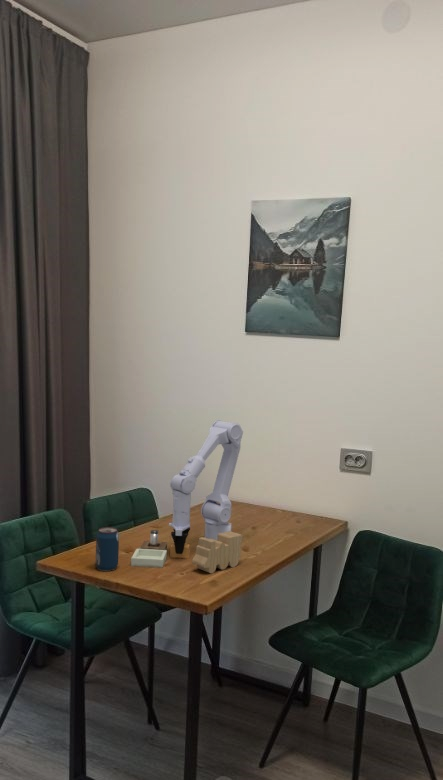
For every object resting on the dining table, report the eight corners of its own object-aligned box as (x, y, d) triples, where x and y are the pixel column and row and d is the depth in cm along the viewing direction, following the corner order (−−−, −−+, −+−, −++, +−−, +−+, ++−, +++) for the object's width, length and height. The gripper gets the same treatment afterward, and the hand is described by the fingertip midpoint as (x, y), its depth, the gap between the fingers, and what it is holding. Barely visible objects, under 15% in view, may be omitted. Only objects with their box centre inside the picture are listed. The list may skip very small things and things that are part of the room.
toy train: (191, 571, 199) (192, 539, 198) (230, 560, 211) (231, 530, 210) (203, 575, 195) (205, 543, 194) (242, 564, 207) (243, 534, 206)
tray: (166, 557, 210) (167, 550, 210) (162, 567, 200) (163, 559, 200) (136, 556, 211) (136, 548, 211) (130, 566, 201) (131, 558, 201)
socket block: (167, 549, 219) (167, 542, 219) (164, 556, 211) (164, 549, 211) (143, 548, 220) (144, 540, 220) (139, 555, 212) (140, 547, 212)
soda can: (121, 566, 200) (123, 528, 200) (111, 573, 194) (112, 533, 193) (102, 563, 202) (103, 525, 202) (90, 569, 196) (92, 531, 195)
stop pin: (158, 551, 217) (158, 530, 216) (157, 553, 214) (157, 532, 214) (150, 550, 217) (151, 529, 217) (149, 553, 214) (150, 531, 214)
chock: (189, 554, 215) (189, 543, 215) (188, 558, 211) (188, 547, 211) (171, 553, 215) (171, 543, 215) (170, 557, 211) (170, 546, 211)
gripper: (172, 505, 220) (170, 544, 221) (166, 515, 205) (165, 557, 206) (192, 506, 220) (191, 545, 220) (188, 516, 205) (187, 558, 206)
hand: (179, 551), depth 213 cm, fingers closed on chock, 4 cm apart
